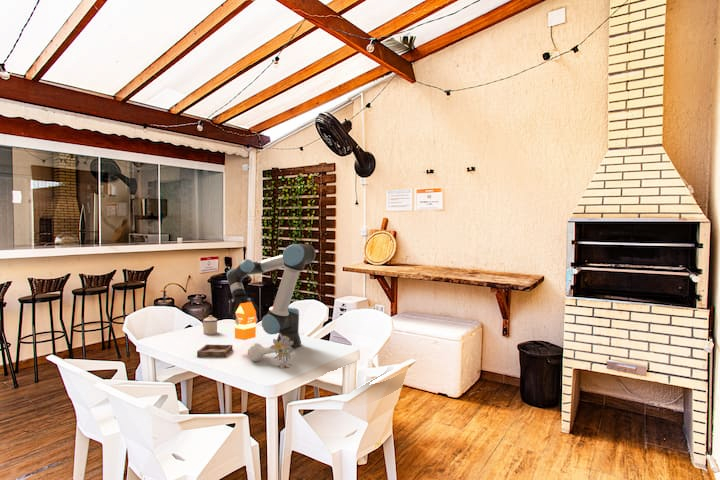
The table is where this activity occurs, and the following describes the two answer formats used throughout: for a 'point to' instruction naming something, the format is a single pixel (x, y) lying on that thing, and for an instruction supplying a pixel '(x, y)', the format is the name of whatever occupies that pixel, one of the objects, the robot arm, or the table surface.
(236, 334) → the orange juice
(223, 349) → the walnut tray
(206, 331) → the teacup with lid
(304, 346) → the table surface
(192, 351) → the table surface
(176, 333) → the table surface
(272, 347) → the flower vase
